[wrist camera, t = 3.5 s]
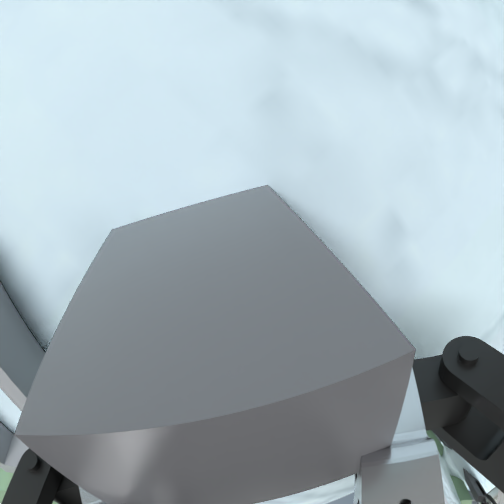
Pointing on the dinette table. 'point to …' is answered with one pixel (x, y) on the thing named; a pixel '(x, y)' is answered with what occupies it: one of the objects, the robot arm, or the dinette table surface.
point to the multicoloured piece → (15, 380)
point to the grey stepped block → (216, 362)
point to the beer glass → (463, 478)
